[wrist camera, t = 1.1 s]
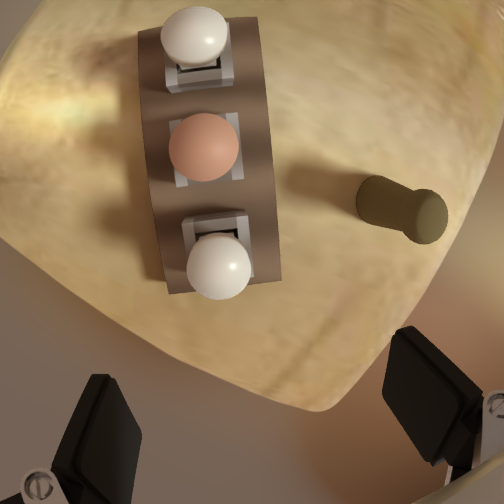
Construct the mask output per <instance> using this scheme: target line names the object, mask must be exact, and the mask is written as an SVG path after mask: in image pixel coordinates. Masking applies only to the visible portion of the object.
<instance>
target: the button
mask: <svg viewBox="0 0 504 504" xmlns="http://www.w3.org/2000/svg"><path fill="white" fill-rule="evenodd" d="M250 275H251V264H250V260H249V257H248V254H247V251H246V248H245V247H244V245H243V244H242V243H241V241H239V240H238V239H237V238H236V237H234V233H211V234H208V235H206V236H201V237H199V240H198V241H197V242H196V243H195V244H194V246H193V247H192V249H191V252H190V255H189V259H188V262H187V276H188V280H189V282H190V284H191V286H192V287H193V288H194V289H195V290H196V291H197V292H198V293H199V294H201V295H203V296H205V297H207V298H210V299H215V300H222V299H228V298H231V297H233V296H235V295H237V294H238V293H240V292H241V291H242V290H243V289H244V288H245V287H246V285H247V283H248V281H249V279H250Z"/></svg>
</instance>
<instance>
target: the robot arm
mask: <svg viewBox="0 0 504 504" xmlns="http://www.w3.org/2000/svg"><path fill="white" fill-rule="evenodd" d="M482 393H483V391H482V390H481V389H480V388H479V387H478V386H476V384H474V382H473V381H471V380H470V379H469V378H468V377H467V376H466V375H465V374H464V373H463V372H462V371H461V370H460V369H459V368H458V367H457V366H456V365H455V364H454V363H453V362H452V361H451V360H450V359H448V357H446V356H445V355H444V354H443V353H442V352H441V351H440V350H439V349H438V348H437V347H436V346H435V345H434V344H433V343H431V342H430V341H429V340H428V339H427V338H426V337H425V336H424V335H423V334H421V333H420V332H419V331H418V330H417V329H416V328H415V327H413V326H408V327H404V328H401V329H398V330H397V331H396V332H395V335H393V336H392V339H391V346H390V351H389V357H388V363H387V368H386V373H385V379H384V383H383V389H382V395H383V398H384V400H385V402H386V403H387V405H388V406H389V408H390V409H391V410H392V412H393V413H394V415H395V416H396V418H397V420H398V421H399V422H400V424H401V425H402V427H403V428H404V430H405V432H406V433H407V434H408V436H409V437H410V439H411V440H412V442H413V444H414V445H415V447H416V448H417V450H418V451H419V453H420V455H421V456H422V458H423V459H424V460H425V461H426V462H430V463H431V465H432V466H433V467H434V466H436V465H437V464H440V463H441V462H443V461H445V460H446V461H447V463H448V464H449V466H448V471H447V476H446V480H445V485H444V487H442V488H441V489H439V490H437V491H435V492H433V493H431V494H430V495H428V496H426V497H424V498H422V499H420V500H418V501H416V502H414V503H412V504H504V390H495V391H492V392H490V393H489V394H487V395H486V397H485V398H484V397H483V396H482ZM141 440H142V433H141V430H140V427H139V426H138V424H137V422H136V420H135V418H134V416H133V415H132V412H131V411H130V409H129V407H128V405H127V403H126V401H125V399H124V397H123V395H122V392H121V391H120V388H119V386H118V384H117V382H116V380H115V379H114V378H111V377H110V375H109V374H92V375H91V377H90V379H89V381H88V383H87V385H86V387H85V389H84V391H83V393H82V395H81V397H80V399H79V401H78V404H77V406H76V408H75V410H74V412H73V415H72V417H71V419H70V421H69V424H68V426H67V428H66V431H65V433H64V435H63V438H62V440H61V442H60V445H59V447H58V450H57V452H56V455H55V457H54V460H53V462H52V467H51V470H47V469H45V468H35V469H32V470H30V471H28V472H27V473H26V474H25V475H24V476H23V478H22V480H21V484H20V489H21V492H20V493H18V494H16V495H14V496H11V497H9V498H7V499H5V500H2V501H0V504H131V499H132V492H133V486H134V479H135V473H136V467H137V462H138V456H139V450H140V445H141Z"/></svg>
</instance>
